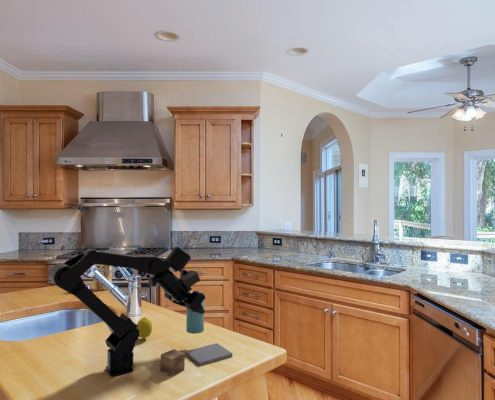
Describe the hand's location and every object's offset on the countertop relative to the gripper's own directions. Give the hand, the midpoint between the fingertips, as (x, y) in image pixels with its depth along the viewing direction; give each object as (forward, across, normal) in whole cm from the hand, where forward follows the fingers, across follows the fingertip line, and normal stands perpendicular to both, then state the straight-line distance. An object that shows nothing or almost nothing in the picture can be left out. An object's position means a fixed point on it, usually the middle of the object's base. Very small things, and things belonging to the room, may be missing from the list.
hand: (198, 310), depth 124 cm
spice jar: (+4, 0, +6) cm, 7 cm away
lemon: (0, +18, +18) cm, 25 cm away
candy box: (+8, +101, +10) cm, 102 cm away
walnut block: (-2, -10, +20) cm, 22 cm away
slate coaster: (+8, -8, +10) cm, 15 cm away
